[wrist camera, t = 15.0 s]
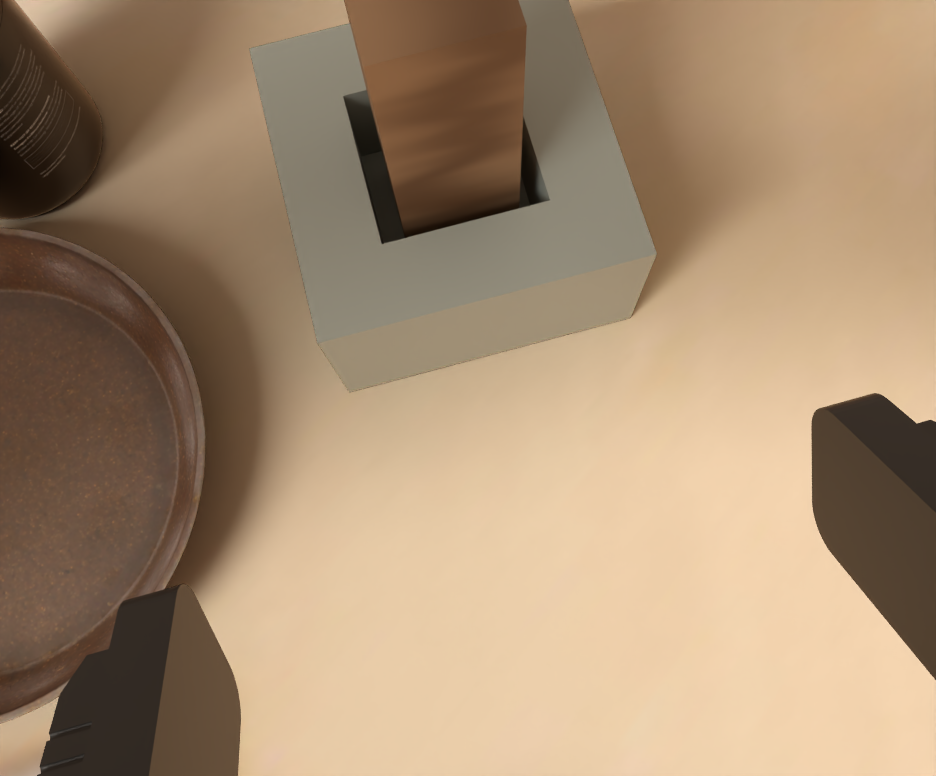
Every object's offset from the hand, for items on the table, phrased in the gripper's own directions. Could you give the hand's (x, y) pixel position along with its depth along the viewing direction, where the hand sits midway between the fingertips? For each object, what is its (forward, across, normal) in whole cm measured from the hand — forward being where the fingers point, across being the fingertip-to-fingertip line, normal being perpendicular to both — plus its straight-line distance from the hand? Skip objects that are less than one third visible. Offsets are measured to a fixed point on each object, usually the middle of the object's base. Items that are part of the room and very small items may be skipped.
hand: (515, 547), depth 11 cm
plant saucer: (+22, +17, +9) cm, 29 cm away
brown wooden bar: (+23, -2, +4) cm, 24 cm away
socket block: (+25, -2, +5) cm, 25 cm away
